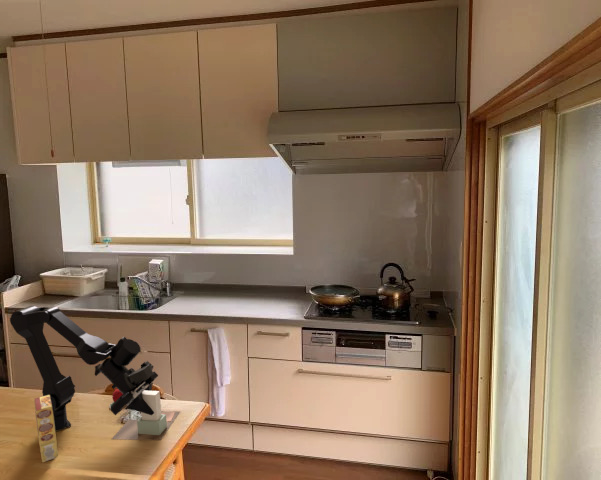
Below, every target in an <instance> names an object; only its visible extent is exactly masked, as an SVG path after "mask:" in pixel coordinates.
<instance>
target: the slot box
mask: <svg viewBox="0 0 601 480" xmlns="http://www.w3.org/2000/svg"><path fill="white" fill-rule="evenodd" d="M166 427H167V422H166V415H164V414H161V418H160V420H159V421H145V420H142V417H141V418H140V419H139V420H138V421H137V428H138V434H150V435H160V434H161V433H162V432H163V431H164V430H165V429H166Z"/></svg>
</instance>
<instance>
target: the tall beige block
mask: <svg viewBox="0 0 601 480" xmlns="http://www.w3.org/2000/svg"><path fill="white" fill-rule="evenodd" d="M142 397H143V400H144V401H145V402H146V403H147V404H148V405H149V406H150V408H151V409H152V410H153V412H154V414H153V415H149V414H146V413H142V412H141V416H142V420H145V421H159V420H160V418H161V411H162V407H161V406H162V405H161V391H160V390H152V391H149V390H144V391H143V392H142Z"/></svg>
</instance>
